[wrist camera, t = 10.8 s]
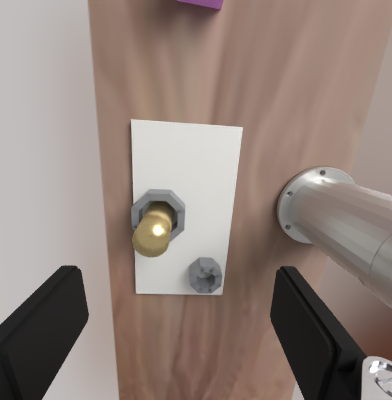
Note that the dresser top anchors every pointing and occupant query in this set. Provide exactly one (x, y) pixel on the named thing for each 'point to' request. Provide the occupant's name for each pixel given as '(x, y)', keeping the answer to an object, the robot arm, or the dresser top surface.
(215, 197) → the fitting board
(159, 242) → the brass pipe fitting
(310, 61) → the dresser top surface
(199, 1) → the bracket
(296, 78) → the dresser top surface
